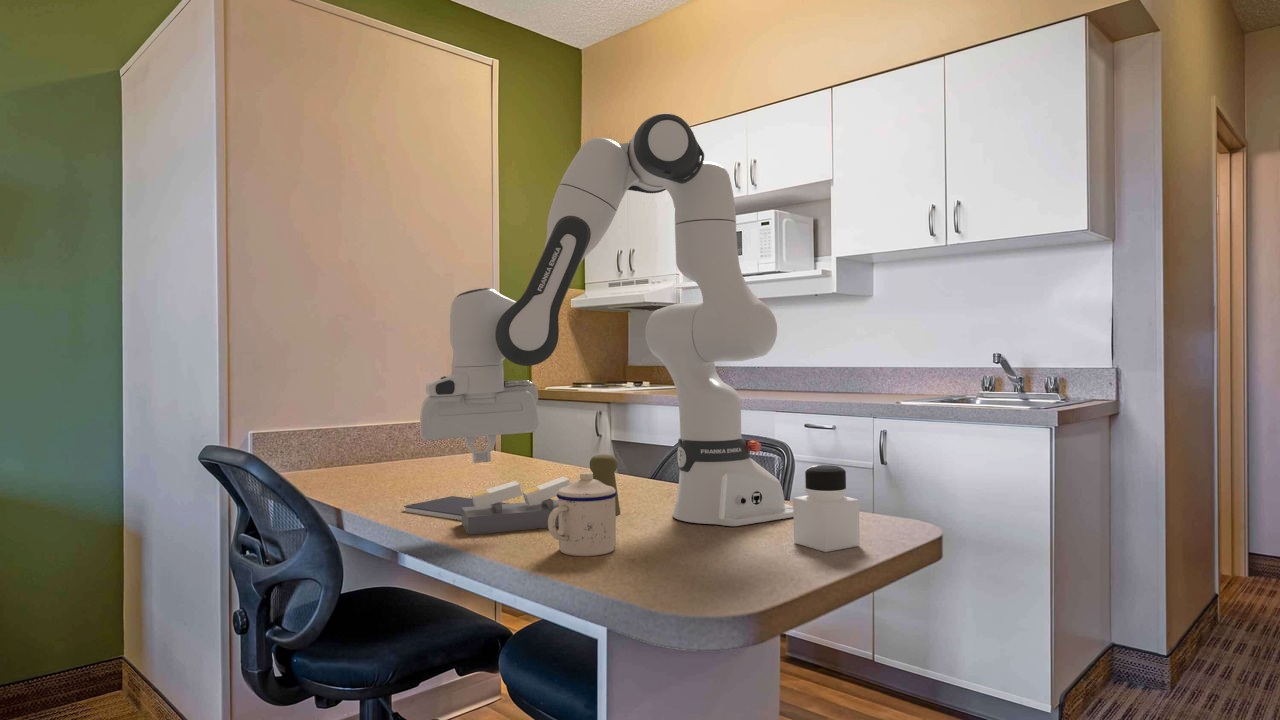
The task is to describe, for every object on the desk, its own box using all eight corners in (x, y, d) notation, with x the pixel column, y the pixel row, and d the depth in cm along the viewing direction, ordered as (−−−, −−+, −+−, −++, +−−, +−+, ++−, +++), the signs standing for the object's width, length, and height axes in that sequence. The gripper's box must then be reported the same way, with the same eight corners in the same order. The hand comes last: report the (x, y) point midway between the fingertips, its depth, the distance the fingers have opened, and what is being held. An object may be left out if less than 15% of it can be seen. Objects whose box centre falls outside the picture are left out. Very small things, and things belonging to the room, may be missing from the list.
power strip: (602, 512, 146) (601, 489, 146) (616, 521, 138) (616, 497, 138) (461, 524, 137) (461, 500, 137) (468, 535, 129) (468, 509, 129)
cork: (616, 517, 141) (615, 457, 141) (584, 516, 142) (583, 456, 142) (623, 510, 147) (622, 453, 147) (592, 510, 148) (591, 452, 148)
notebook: (527, 513, 149) (452, 503, 161) (527, 505, 149) (452, 495, 161) (478, 526, 138) (402, 514, 151) (478, 517, 138) (402, 505, 151)
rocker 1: (517, 491, 138) (515, 480, 138) (522, 495, 135) (519, 483, 134) (473, 504, 136) (470, 493, 135) (477, 509, 132) (474, 497, 132)
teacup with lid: (589, 539, 124) (587, 467, 124) (630, 548, 118) (628, 472, 118) (530, 554, 115) (528, 476, 115) (571, 565, 109) (569, 482, 109)
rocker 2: (566, 486, 141) (563, 475, 141) (572, 490, 138) (569, 478, 137) (525, 502, 139) (521, 491, 139) (529, 505, 135) (526, 494, 135)
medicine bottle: (860, 546, 117) (859, 467, 117) (825, 553, 113) (823, 471, 113) (827, 537, 123) (826, 461, 123) (792, 543, 119) (791, 465, 119)
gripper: (533, 378, 141) (537, 454, 141) (416, 385, 134) (420, 464, 134) (541, 380, 135) (544, 459, 135) (419, 386, 128) (422, 469, 128)
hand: (481, 461), depth 135 cm, fingers closed
